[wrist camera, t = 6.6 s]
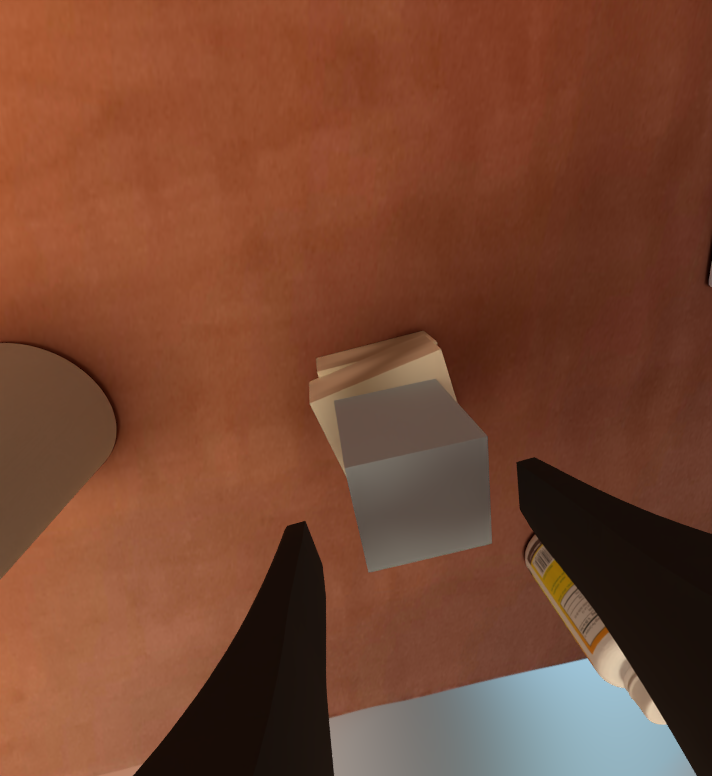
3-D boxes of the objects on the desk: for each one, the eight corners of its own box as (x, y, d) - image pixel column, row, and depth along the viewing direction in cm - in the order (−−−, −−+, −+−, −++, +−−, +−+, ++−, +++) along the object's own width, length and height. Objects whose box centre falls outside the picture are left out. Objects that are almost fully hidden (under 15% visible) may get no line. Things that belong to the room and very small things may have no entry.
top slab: (423, 334, 18) (440, 349, 15) (455, 432, 20) (474, 458, 18) (309, 381, 18) (309, 403, 16) (354, 473, 20) (360, 504, 18)
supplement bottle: (587, 563, 29) (722, 720, 20) (519, 578, 29) (624, 745, 19) (595, 508, 27) (752, 656, 17) (522, 523, 26) (641, 683, 17)
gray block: (435, 378, 16) (487, 436, 11) (444, 463, 18) (491, 543, 13) (333, 400, 16) (344, 467, 11) (352, 484, 17) (368, 572, 13)
